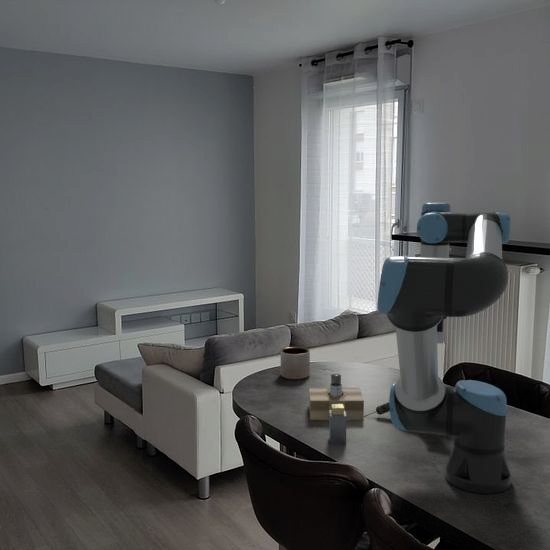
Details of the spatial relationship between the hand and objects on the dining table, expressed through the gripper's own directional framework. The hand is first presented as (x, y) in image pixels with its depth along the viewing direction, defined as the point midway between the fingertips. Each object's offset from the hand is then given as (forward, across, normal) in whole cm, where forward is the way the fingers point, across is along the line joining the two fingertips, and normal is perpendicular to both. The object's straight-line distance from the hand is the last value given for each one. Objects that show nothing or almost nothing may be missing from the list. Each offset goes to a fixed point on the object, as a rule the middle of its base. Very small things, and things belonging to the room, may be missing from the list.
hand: (432, 337), depth 177 cm
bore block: (+29, +18, +25) cm, 42 cm away
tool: (+26, +12, +4) cm, 29 cm away
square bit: (+29, -3, +26) cm, 39 cm away
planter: (+29, +56, +37) cm, 73 cm away
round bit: (+29, +18, +25) cm, 42 cm away
